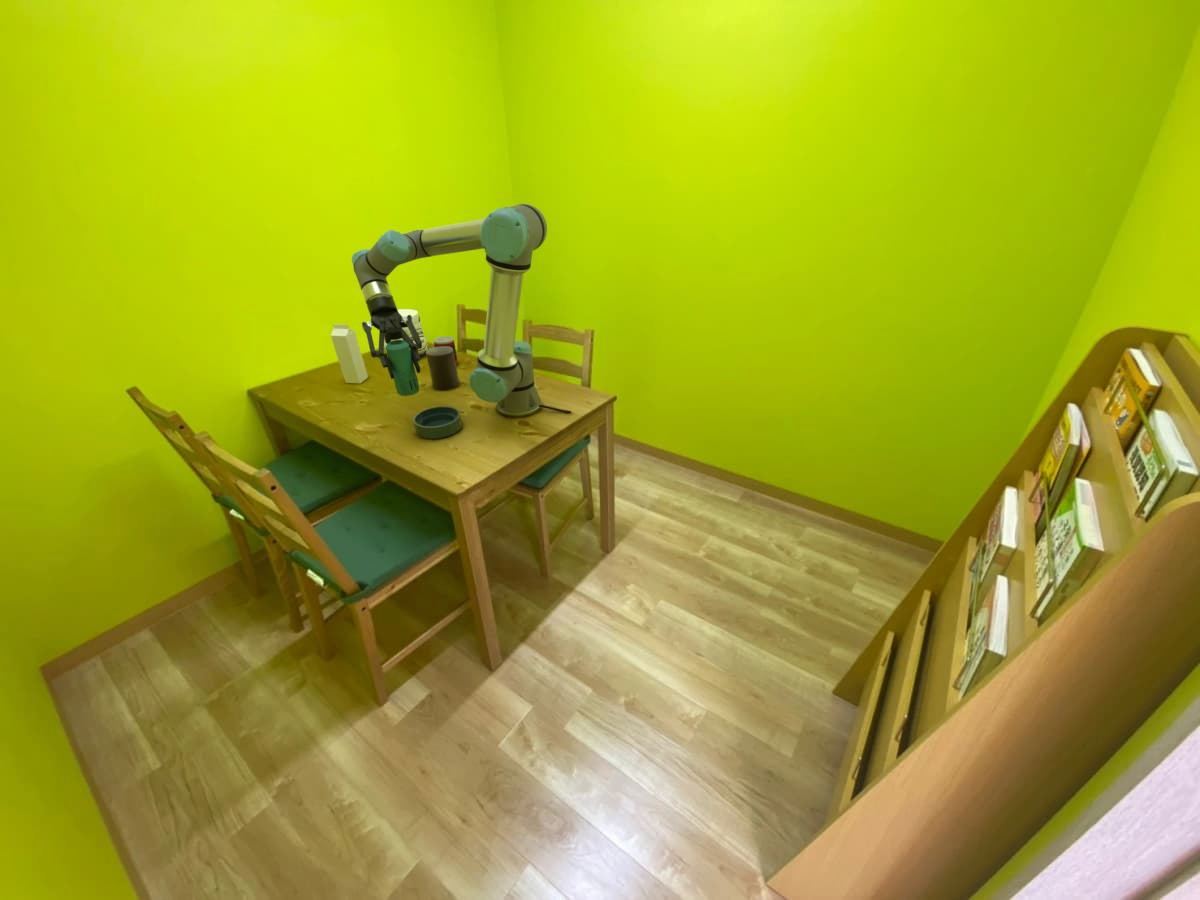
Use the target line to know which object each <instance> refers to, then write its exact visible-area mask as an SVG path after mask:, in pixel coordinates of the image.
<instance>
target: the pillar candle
mask: <svg viewBox="0 0 1200 900" xmlns="http://www.w3.org/2000/svg"><path fill="white" fill-rule="evenodd" d="M425 354H426V360H427V362H428V369H429V374H430V379H431V384H432V387H433V388H434V389H435V390H437V391H448V390H452V389H455V388H457V387H459V385H460V379H459V374H458V368H457V365H456V363H455V357H454V352H453V348H451V347H446V346H440V347H434V346H433V347H430V348H428V349H427V351H426V353H425Z"/></svg>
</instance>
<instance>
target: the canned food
mask: <svg viewBox="0 0 1200 900" xmlns="http://www.w3.org/2000/svg"><path fill="white" fill-rule="evenodd" d="M440 346H446V347H451V348H453V352H454V357H455V363H456V366H458V362H459V361H458V357H457V349H456V345H455V340H454V338H453V337H452V336H447V335H446V336H438V337H435V338H434V339H433V348H434V347H440Z"/></svg>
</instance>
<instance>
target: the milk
mask: <svg viewBox="0 0 1200 900" xmlns="http://www.w3.org/2000/svg"><path fill="white" fill-rule="evenodd" d="M332 327H333V329H332V331H331V334H330V338H331V341H332V344H333V348H334V351H335V355H336V357H337V360H338V362H339V363H338V364H339V366H340V369H341V372H342V376H343V378H344V382H345V384H358V385H359V384H360V385H361V384H362V383H363V382H364V381H365V380H367V379H368V378H369V376H368V372H367V368H366V365H365V362H364V361H365V360H364V358H363V355H362V351H361V348H360V344H359V341H358V337H357V334H356V331H355V330H353V329H350V327H349V325H348V324H337V323H336V324H335V323H334V324H332Z"/></svg>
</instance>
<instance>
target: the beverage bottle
mask: <svg viewBox="0 0 1200 900" xmlns="http://www.w3.org/2000/svg"><path fill="white" fill-rule="evenodd" d="M386 335H387V339H388V340H393V341H390V342H389V343H388V344H387V345H386V350H385V352H386V351H387V352H386V354H387V357H388V359H389V362H390V365H391V368H392V371H393V374H394V378H393V381H394V385H395V386H394V388H395V391H396V393H397V394H398V395H399V396H401V397H410V396H414V395H416V394H418V393H419V392H420V384H419V380H418V376H417V371H416V368H415V365H414V362H413V358H412V356H411V352H410V348H409V344H408V343H407V342H405V341H403V340H397V339H400V338H402V337H403V335H402V333H401V330H400V329H390V330H387V331H386Z"/></svg>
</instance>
